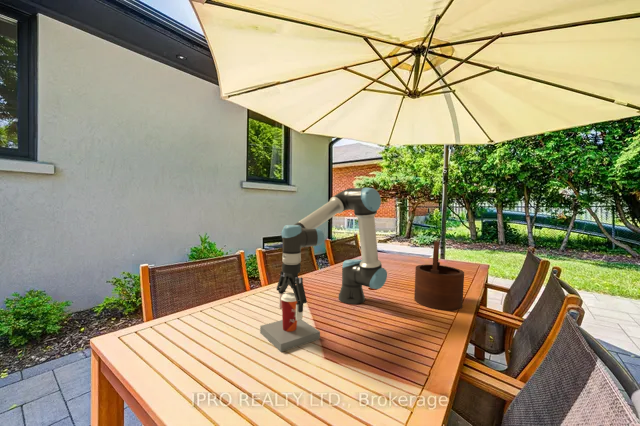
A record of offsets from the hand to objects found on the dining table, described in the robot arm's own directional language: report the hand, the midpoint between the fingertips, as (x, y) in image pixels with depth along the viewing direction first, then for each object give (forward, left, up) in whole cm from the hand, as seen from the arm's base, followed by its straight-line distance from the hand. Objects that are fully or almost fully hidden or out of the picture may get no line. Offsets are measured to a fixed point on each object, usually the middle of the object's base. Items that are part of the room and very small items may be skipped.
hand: (290, 313), depth 114 cm
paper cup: (0, 0, -7) cm, 7 cm away
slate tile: (0, 0, -9) cm, 9 cm away
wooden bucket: (+12, +92, -10) cm, 93 cm away
